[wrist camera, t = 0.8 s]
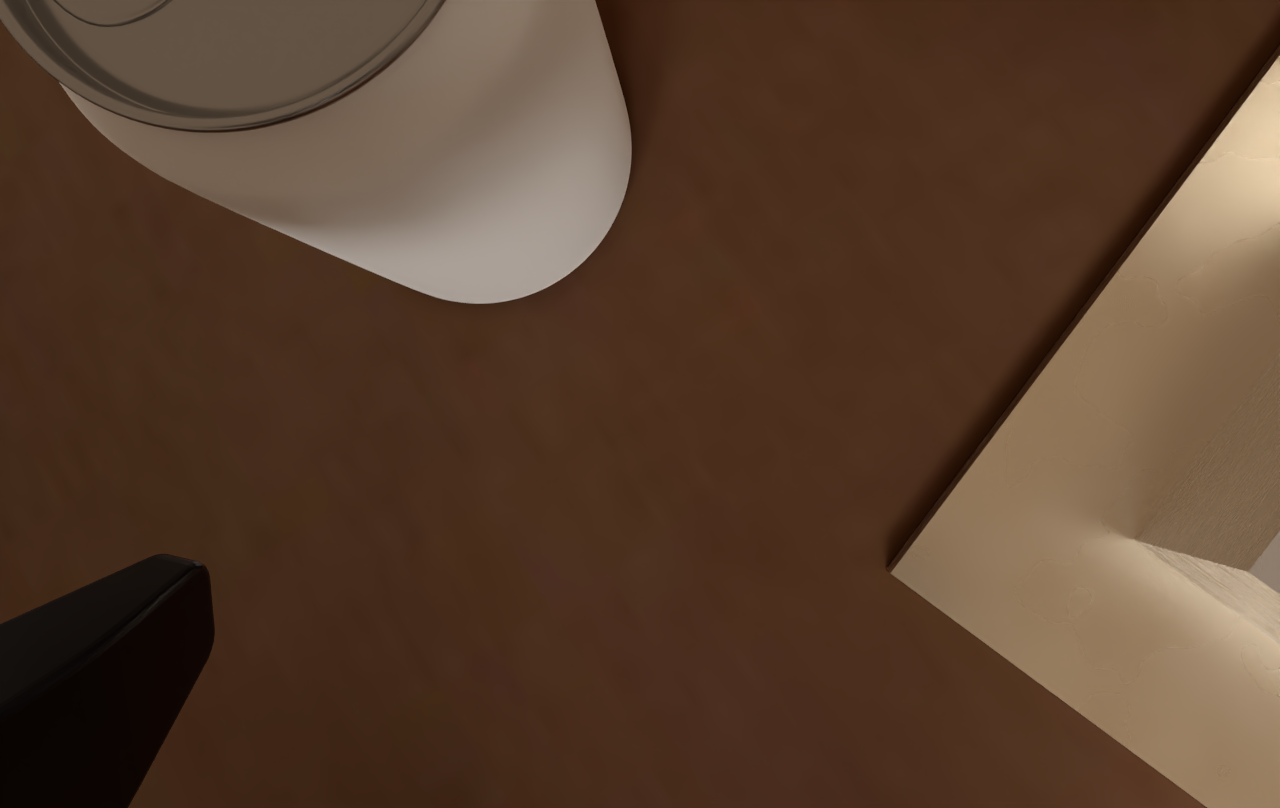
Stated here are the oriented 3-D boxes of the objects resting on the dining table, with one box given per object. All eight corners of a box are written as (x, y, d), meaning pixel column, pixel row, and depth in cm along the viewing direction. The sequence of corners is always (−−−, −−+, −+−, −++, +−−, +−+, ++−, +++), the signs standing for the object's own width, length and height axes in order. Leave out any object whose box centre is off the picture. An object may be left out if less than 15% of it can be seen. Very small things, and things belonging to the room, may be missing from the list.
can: (292, 92, 23) (-182, -273, 11) (556, -43, 22) (365, -576, 10) (415, 358, 23) (66, 281, 11) (685, 225, 22) (640, -10, 10)
